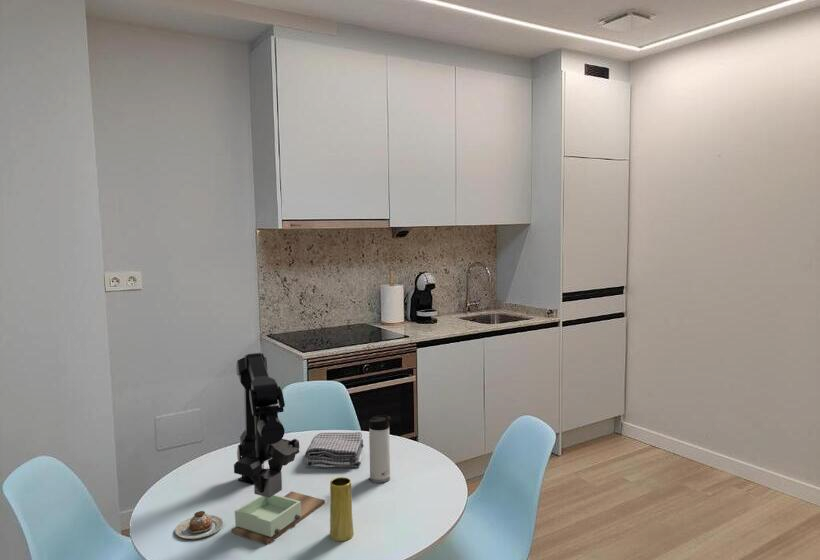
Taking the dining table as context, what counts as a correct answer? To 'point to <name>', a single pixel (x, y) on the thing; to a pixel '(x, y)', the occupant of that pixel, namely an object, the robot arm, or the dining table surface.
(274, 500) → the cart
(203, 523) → the pastry
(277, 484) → the block
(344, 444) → the towel
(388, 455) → the travel mug
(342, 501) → the vase
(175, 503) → the dining table surface
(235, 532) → the track
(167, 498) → the dining table surface
